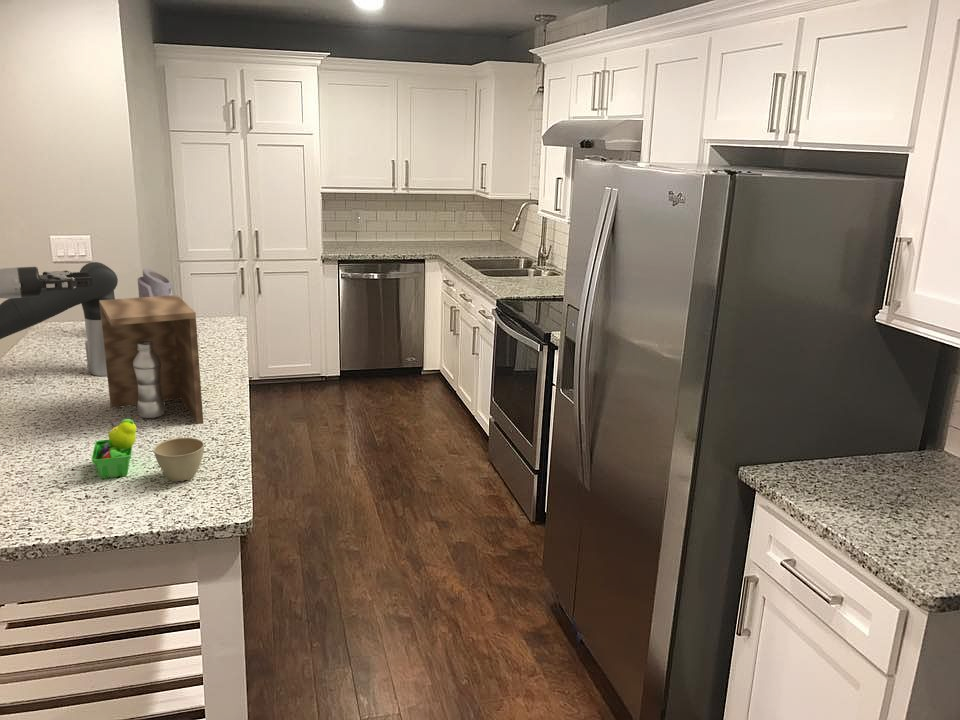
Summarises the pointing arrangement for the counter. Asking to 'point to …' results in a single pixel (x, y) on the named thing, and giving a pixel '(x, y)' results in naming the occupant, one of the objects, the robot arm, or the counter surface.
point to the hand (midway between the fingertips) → (90, 278)
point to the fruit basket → (115, 450)
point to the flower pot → (179, 457)
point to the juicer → (154, 284)
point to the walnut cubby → (172, 344)
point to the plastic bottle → (148, 381)
